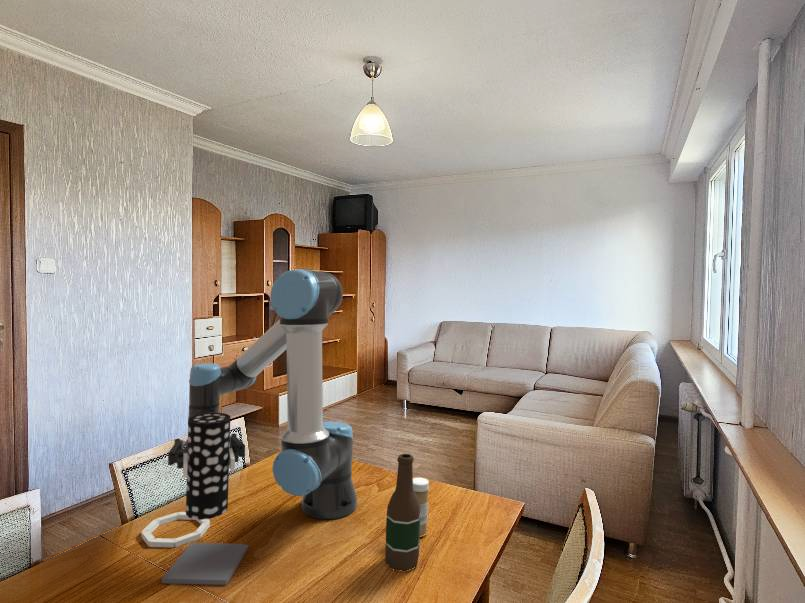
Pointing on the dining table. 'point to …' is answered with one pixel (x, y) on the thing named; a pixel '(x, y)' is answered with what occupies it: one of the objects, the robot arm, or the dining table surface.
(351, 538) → the dining table surface
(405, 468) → the beer bottle
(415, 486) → the sprinkles bottle
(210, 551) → the mat
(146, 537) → the coaster ring
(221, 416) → the white-spotted black cylinder
